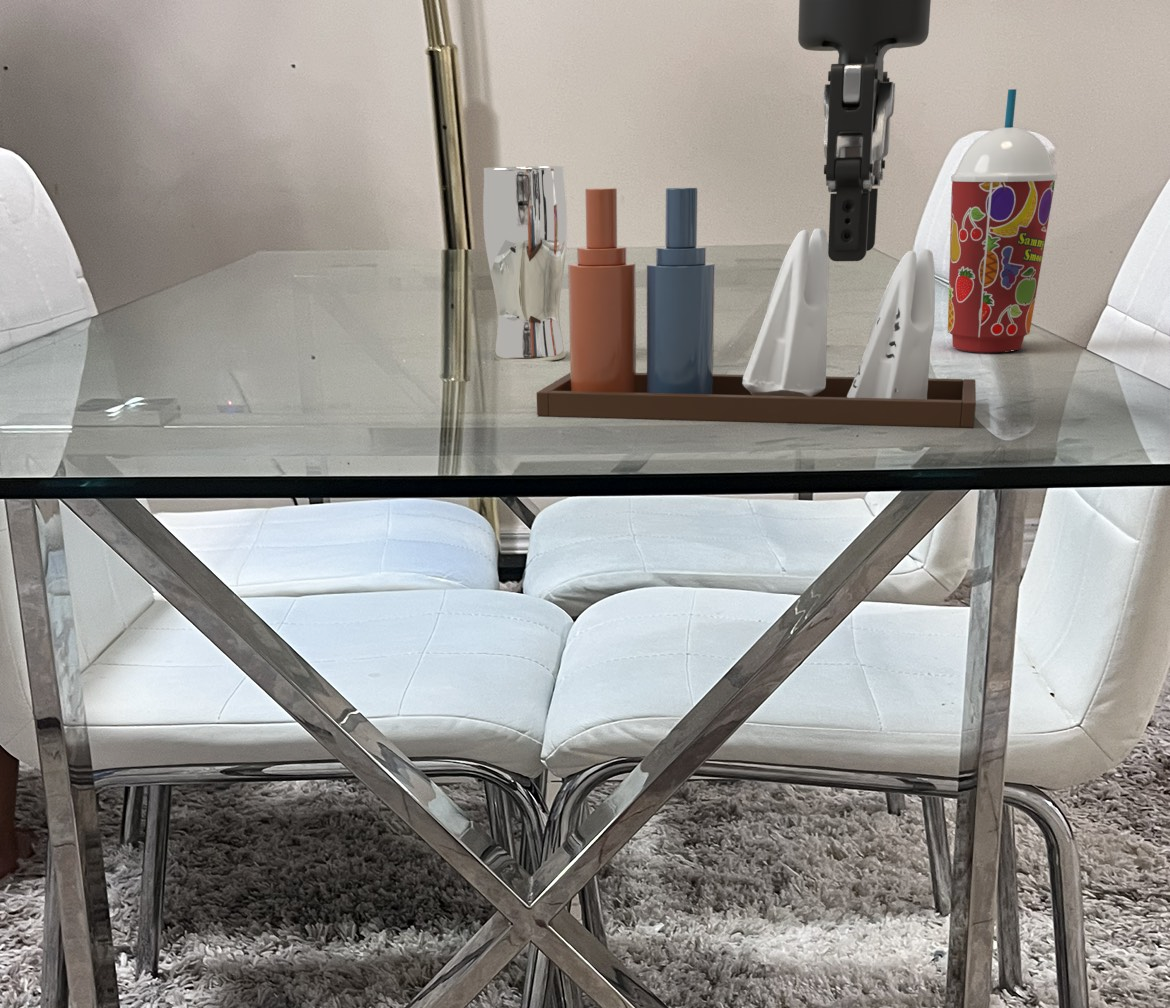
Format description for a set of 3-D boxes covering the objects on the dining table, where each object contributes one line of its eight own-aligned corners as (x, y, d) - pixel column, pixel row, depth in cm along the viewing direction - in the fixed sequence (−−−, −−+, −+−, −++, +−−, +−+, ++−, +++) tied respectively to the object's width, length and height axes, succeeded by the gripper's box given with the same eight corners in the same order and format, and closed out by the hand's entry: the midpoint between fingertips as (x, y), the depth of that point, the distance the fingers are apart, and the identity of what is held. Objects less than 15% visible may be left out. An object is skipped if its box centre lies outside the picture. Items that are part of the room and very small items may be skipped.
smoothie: (1035, 356, 115) (1065, 86, 107) (932, 354, 118) (953, 89, 110) (1039, 343, 123) (1068, 89, 114) (942, 341, 125) (963, 92, 117)
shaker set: (741, 415, 90) (746, 231, 85) (742, 404, 94) (747, 227, 89) (931, 416, 89) (947, 229, 84) (925, 405, 92) (940, 225, 88)
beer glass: (552, 364, 116) (547, 167, 110) (476, 362, 118) (466, 168, 112) (582, 353, 122) (578, 165, 116) (508, 350, 124) (501, 166, 118)
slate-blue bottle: (717, 402, 95) (722, 186, 89) (706, 413, 91) (710, 188, 85) (653, 400, 96) (654, 186, 90) (640, 412, 92) (640, 189, 86)
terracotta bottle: (642, 400, 96) (642, 186, 90) (628, 411, 92) (627, 189, 87) (580, 398, 97) (576, 187, 91) (563, 410, 93) (558, 190, 88)
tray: (972, 411, 93) (975, 379, 92) (972, 437, 85) (975, 402, 84) (572, 401, 100) (571, 371, 99) (537, 425, 92) (536, 392, 91)
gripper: (931, -65, 73) (909, 264, 80) (936, -36, 86) (917, 246, 92) (786, -57, 75) (777, 266, 81) (812, -29, 87) (803, 248, 94)
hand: (852, 255), depth 87 cm, fingers open, 8 cm apart
